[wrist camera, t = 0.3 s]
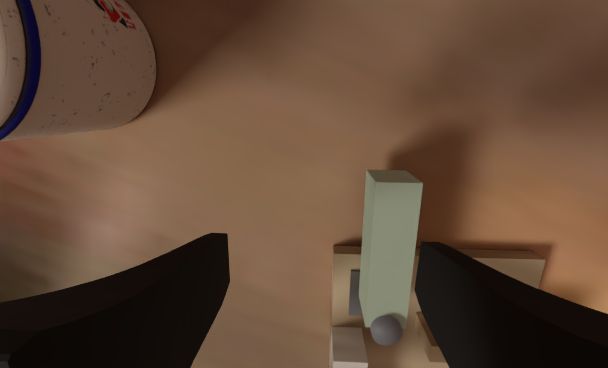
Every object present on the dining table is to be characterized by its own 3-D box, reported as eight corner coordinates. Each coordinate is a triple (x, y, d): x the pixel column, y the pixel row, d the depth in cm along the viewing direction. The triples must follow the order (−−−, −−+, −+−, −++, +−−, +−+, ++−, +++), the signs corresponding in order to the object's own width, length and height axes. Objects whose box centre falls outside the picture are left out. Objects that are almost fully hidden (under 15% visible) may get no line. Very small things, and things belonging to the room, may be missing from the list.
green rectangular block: (405, 170, 18) (425, 185, 14) (392, 307, 20) (406, 346, 17) (366, 169, 18) (377, 184, 14) (357, 306, 20) (365, 344, 17)
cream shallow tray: (496, 402, 24) (532, 462, 20) (328, 393, 25) (329, 450, 20) (532, 250, 20) (586, 287, 16) (333, 245, 21) (336, 279, 17)
